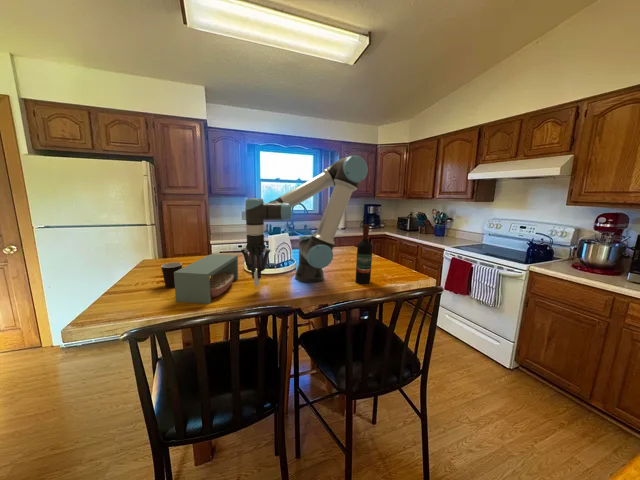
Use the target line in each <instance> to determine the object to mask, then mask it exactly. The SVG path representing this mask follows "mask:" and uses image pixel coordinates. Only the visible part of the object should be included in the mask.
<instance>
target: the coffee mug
mask: <svg viewBox="0 0 640 480" xmlns="http://www.w3.org/2000/svg"><path fill="white" fill-rule="evenodd" d="M160 266H161V272H162V276H163V280H164V284H165V287H166V288H168V289H169V288H170V289H175V282H174V272H175V271H177V270H179V269H181V268H183V263H182V262H167V263H163V264H162V265H160Z"/></svg>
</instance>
